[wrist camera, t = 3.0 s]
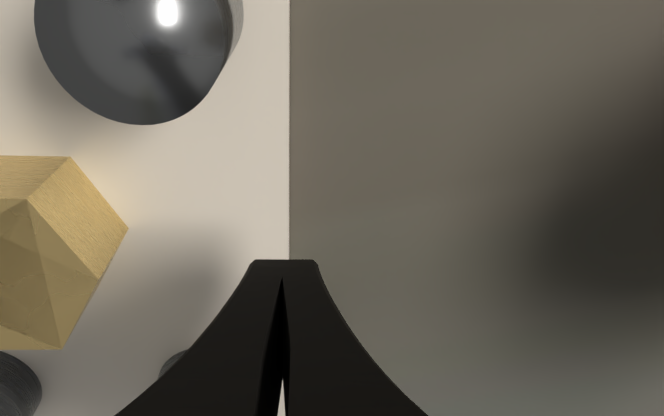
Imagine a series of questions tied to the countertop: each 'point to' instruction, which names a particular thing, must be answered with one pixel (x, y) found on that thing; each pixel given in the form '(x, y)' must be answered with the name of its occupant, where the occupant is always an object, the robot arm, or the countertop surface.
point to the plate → (158, 204)
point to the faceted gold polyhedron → (50, 249)
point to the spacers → (127, 87)
